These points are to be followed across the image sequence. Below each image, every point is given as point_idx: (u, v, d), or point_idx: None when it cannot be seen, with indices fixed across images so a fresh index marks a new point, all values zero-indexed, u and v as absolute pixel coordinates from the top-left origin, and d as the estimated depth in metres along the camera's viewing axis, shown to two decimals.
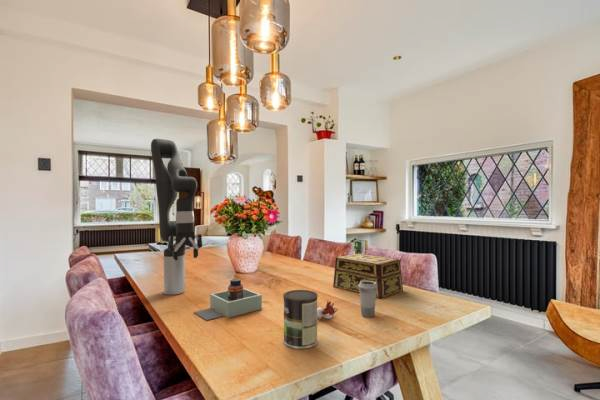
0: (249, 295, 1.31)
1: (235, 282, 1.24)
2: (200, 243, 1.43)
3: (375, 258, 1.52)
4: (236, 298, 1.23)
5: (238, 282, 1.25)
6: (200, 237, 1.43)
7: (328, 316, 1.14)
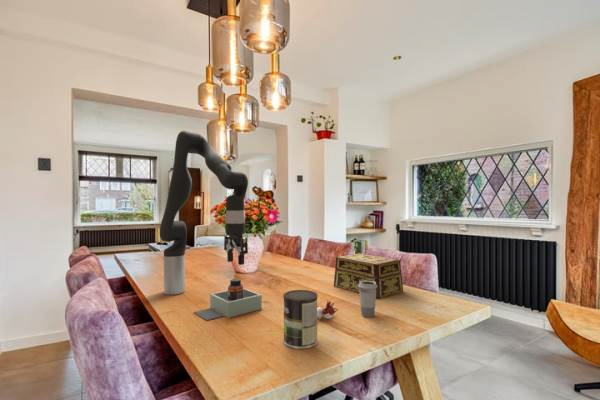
0: (249, 295, 1.31)
1: (235, 282, 1.24)
2: None
3: (375, 258, 1.52)
4: (236, 298, 1.23)
5: (238, 282, 1.25)
6: None
7: (328, 316, 1.14)
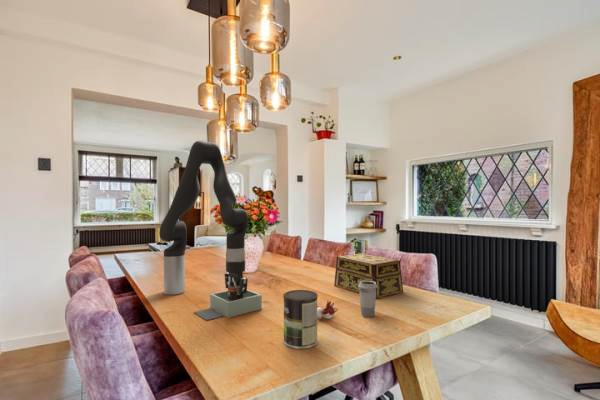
0: (249, 295, 1.31)
1: None
2: None
3: (375, 258, 1.52)
4: (236, 298, 1.23)
5: None
6: None
7: (328, 316, 1.14)
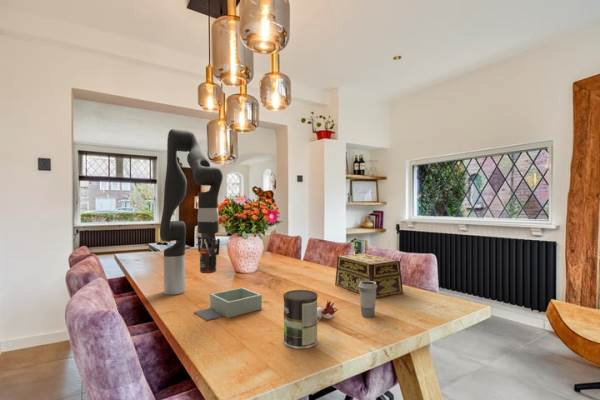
0: (249, 295, 1.31)
1: None
2: None
3: (375, 258, 1.51)
4: (208, 260, 1.17)
5: None
6: None
7: (328, 316, 1.14)
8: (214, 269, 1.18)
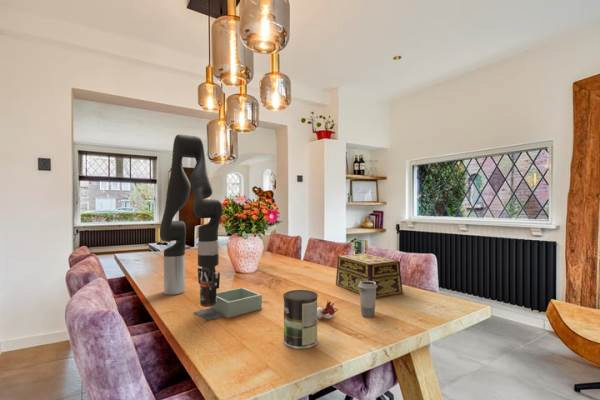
0: (249, 295, 1.31)
1: None
2: None
3: (375, 258, 1.51)
4: (208, 294, 1.16)
5: None
6: None
7: (328, 316, 1.14)
8: (214, 302, 1.18)
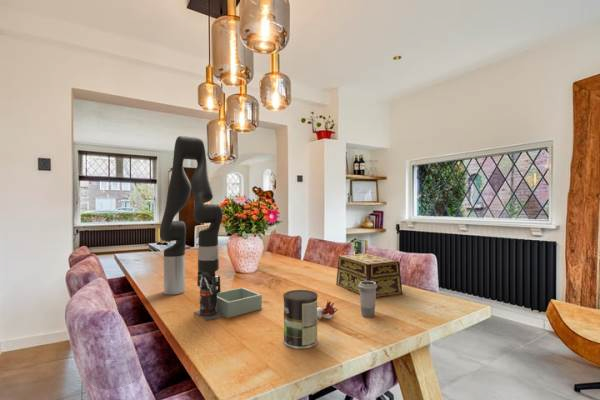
0: (249, 295, 1.31)
1: None
2: None
3: (375, 258, 1.51)
4: (208, 303, 1.17)
5: None
6: None
7: (328, 316, 1.14)
8: (214, 311, 1.18)
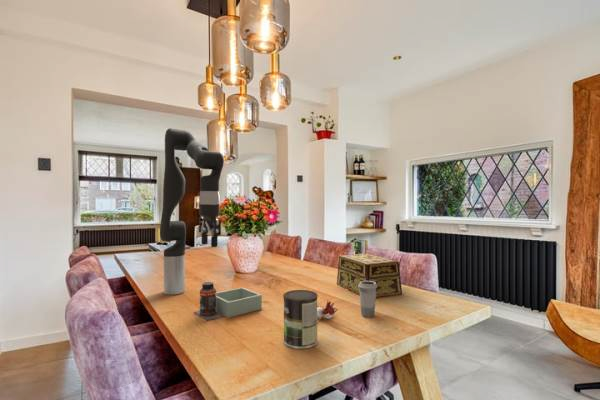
0: (249, 295, 1.31)
1: (207, 286, 1.18)
2: None
3: (375, 259, 1.51)
4: (208, 303, 1.17)
5: (210, 286, 1.18)
6: None
7: (328, 316, 1.14)
8: (214, 311, 1.18)
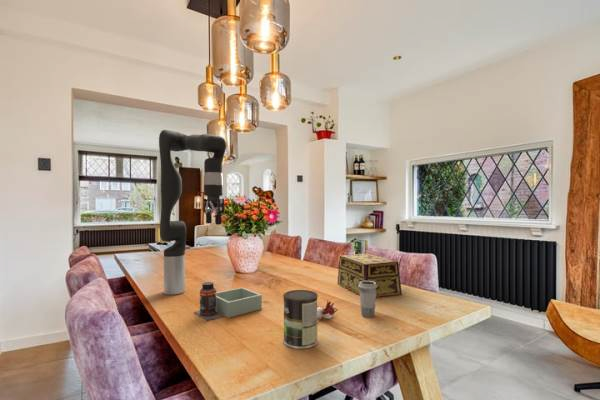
0: (249, 295, 1.31)
1: (207, 286, 1.18)
2: None
3: (374, 259, 1.51)
4: (208, 303, 1.17)
5: (210, 286, 1.18)
6: None
7: (328, 316, 1.14)
8: (214, 311, 1.18)
